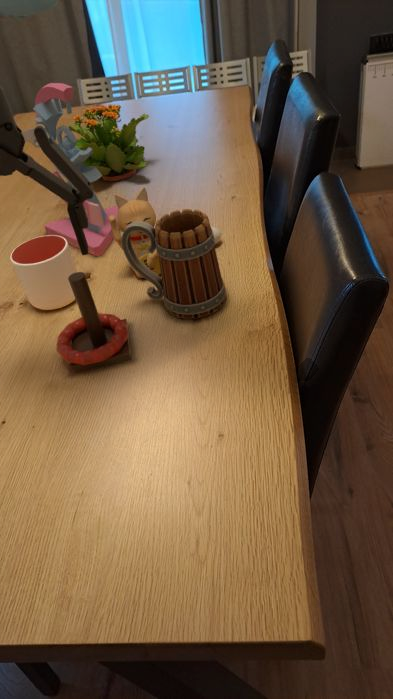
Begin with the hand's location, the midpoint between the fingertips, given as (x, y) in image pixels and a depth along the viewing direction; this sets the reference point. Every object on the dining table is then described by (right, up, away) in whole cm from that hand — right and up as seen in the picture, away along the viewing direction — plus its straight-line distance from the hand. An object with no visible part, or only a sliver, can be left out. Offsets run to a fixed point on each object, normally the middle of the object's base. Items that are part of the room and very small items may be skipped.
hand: (35, 261), depth 67 cm
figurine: (+12, +3, +28) cm, 30 cm away
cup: (-4, -2, +25) cm, 25 cm away
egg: (+24, +8, +31) cm, 40 cm away
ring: (+6, -10, +10) cm, 15 cm away
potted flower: (+1, +35, +66) cm, 75 cm away
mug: (+19, -4, +18) cm, 27 cm away
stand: (+7, -12, +11) cm, 18 cm away
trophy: (-3, +13, +42) cm, 44 cm away
